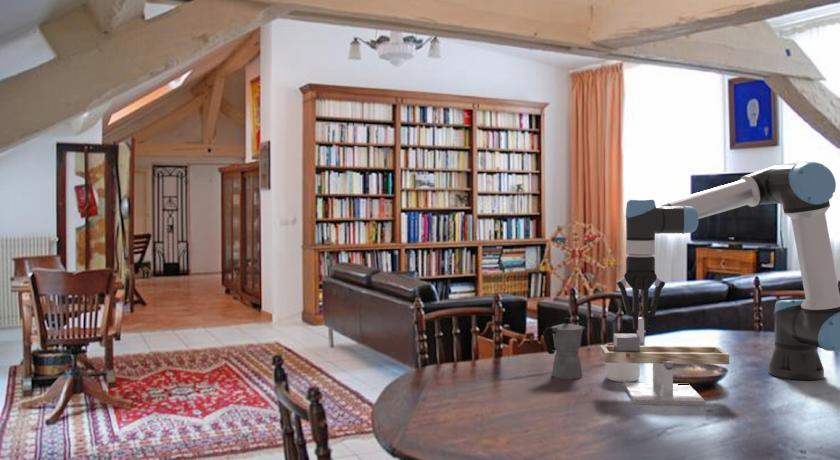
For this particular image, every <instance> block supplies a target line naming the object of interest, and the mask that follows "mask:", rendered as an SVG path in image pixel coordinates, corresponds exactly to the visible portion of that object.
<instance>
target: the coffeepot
mask: <svg viewBox="0 0 840 460" xmlns="http://www.w3.org/2000/svg"><path fill="white" fill-rule="evenodd" d="M563 320H564V323H561V324H557V325H553V326H550V327H549V326H547V327H546V328H545V329H544V331H543V332H542V337H543V341H544V343H545V347H546V350H547V354H549V355H553V354H554V358H553V359H554V360H553V364H552V372H551V376H553V378H556V379H559V380H578V379H580V378H582V377H583V370H582V364H581V360H580V356H579V350H580V348H581V342H582V336H583V331H584V330H585V328H586V327H585V326H582V325H577V324H572V323H570V318H569V317H564V319H563ZM549 334H552V338H553V344H554V348H555V350H552V344H551V342H550V337H549Z"/></svg>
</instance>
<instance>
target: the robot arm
mask: <svg viewBox="0 0 840 460" xmlns="http://www.w3.org/2000/svg"><path fill="white" fill-rule="evenodd" d="M836 185H837V184H836V178H835V176H834V173H833V172H832V171H831V170H830V169H829V167H827V166H825V164H823V163H820V162H816V161H815V162H814V161H812V162H811V161H799V162H791V163H780V164H775V165H771V166H769V167H766V168H764V169H761V170H758V171H754V172H752V173H749V174H746V175H743V176H741V177H740V178H739V180H737V181H734V182H731V183H727V184H724V185H719V186H716V187H713V188H710V189H706V190H703V191H700V192H695V193H693V194H688V195H685V196H681V197H678V198H674V199H670V200H667V201H664V202H661V203H657V204H656V202H655V200H654V199H652V198H650V199H647V198H646V199H644V198H643V199H629V200H628V201H627V202H626V208H625V221H626V222H625V228H626V229H625V230H626V232H625V233H626V234H625V235H626V236H625V239H626V242H625V245H626V246H625V253H626V255H628V256H626V257H625V273H624V275H623V278H621V279H620V280H616V282H615V284H616V285H617V287H618V288H619V290H620V294H621V298H622V303H623V307H624V310H625V313H626V315H627V316H629V317H631V318H632V328H633V330H636V335H637V336H638V337H639V338H640V343H645V331H648V329H649V318H651V317H654V316H655V315H656V313H657V309H658V304H659V301H660V297H661V292H662V290H663V288H664V287H665V285H666V282H665V281H663V280H661V279H659V278H658V277H657V273H656V259H655V258H656V257H655V256H654V255H655V254H656V246H655V245H656V243H655V242H656V234H657V235H658V234H683V235H685V234H692V233H694V232H695V231H696V230H697V228H698V226H699V219H703V218H706V217H710V216H713V215H717V214H721V213H724V212H727V211H731V210H734V209H737V208H741V207H744V206H748V207H750V208H753V207H757V206H761V205H771V204H778V205H779V204H780V205H782V209H783V214H784V215H786V216H788V217H789V218H790V220H791V226H792V231H793V236H794V237H793V238H794V242H795V248H796V253H797V260H798V264H799V269H800V274H801V281H802V287H803V291H804V298H805V299H782V300H781V299H780V300H778V301H776V302H775V305H774V312H773V314H774V348H773V350H772V354H771V357H770V359H769V361H768V365H767V373H768V374H770V375H772V376H774V377H778V378H782V379H783V378H784V379H787V380H795V381H797V380H798V381H817V380H822V379H824V378H825V368H824V365H823V364H822V360H821V357H820V355H819V352H818V351H819V350H818V349H822V350H824V351H827V352H835V353H836V352H837V353H840V289H839V285H838V278H837V271H836V267H835V262H834V255H833V251H832V244H831V239H830V233H829V229H828V228H829V227H828V223H827V218H826V213H827V211H828V210H829V209H830V207H831V204H830V200H831V199H832V198H833V196H834V193H836V189H837V188H836V187H837V186H836ZM627 284H628V285H629V287H630V288H631V289H632V310H631V304H630V300H629V297H628V293H627V289H626V286H627ZM653 284H654V286H655V288H654V290H653V294H652V299H651V303H650V305H649V293H650V292H649V291H650V288H651V287H652V285H653ZM640 290H641V296H642V297H641V315H642V316H640V317H639V315H640V314H639V313H640V312H639V306H640V305H639V298H640V297H639V296H640V295H639V294H640ZM649 306H650V307H649Z"/></svg>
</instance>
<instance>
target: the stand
mask: <svg viewBox="0 0 840 460" xmlns="http://www.w3.org/2000/svg"><path fill="white" fill-rule="evenodd" d="M678 384H679V383H674V364H673V361H672V360H662V364H659V363H652V382H623V388H624V390H625V392H627V394H628V397H629V398H630V399H631V401H632V402H633V404H634V405H656V406H657V405H662V406H694V407H695V406H697V407H698V406H699V407H700V406H701V407H702V406H703V407H706V406H707V405H706V400H705V399H704V397H702V396H701V395H700V394H699V393H698V392H697V391H696V390H695V389H694V388H693V387H692V386H691V385H690V384H689V385H678Z"/></svg>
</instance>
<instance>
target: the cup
mask: <svg viewBox="0 0 840 460" xmlns="http://www.w3.org/2000/svg"><path fill="white" fill-rule="evenodd" d="M604 346H614V342H611V343H607V344H605V345H604ZM640 365H641V363H605V362H604V376H605V377H606V378H607V379H608V380H610V381H613V382H618V383H635V382H637V381H638V380H639V379H640V374H641V373H640V372H641V371H640V370H641V369H640V368H641V366H640Z"/></svg>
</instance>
